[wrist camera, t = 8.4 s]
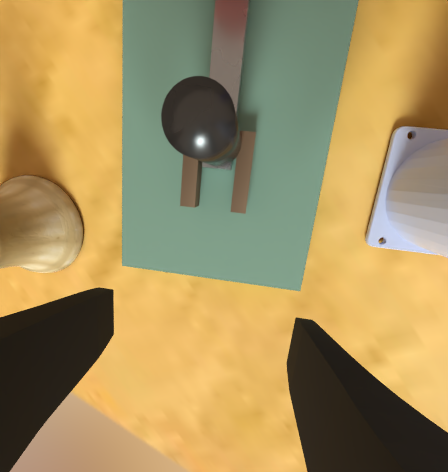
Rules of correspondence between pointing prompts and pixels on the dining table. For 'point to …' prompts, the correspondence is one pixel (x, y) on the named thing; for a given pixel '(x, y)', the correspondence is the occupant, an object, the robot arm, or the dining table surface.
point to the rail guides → (241, 178)
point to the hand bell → (38, 225)
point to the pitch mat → (249, 119)
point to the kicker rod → (211, 95)
